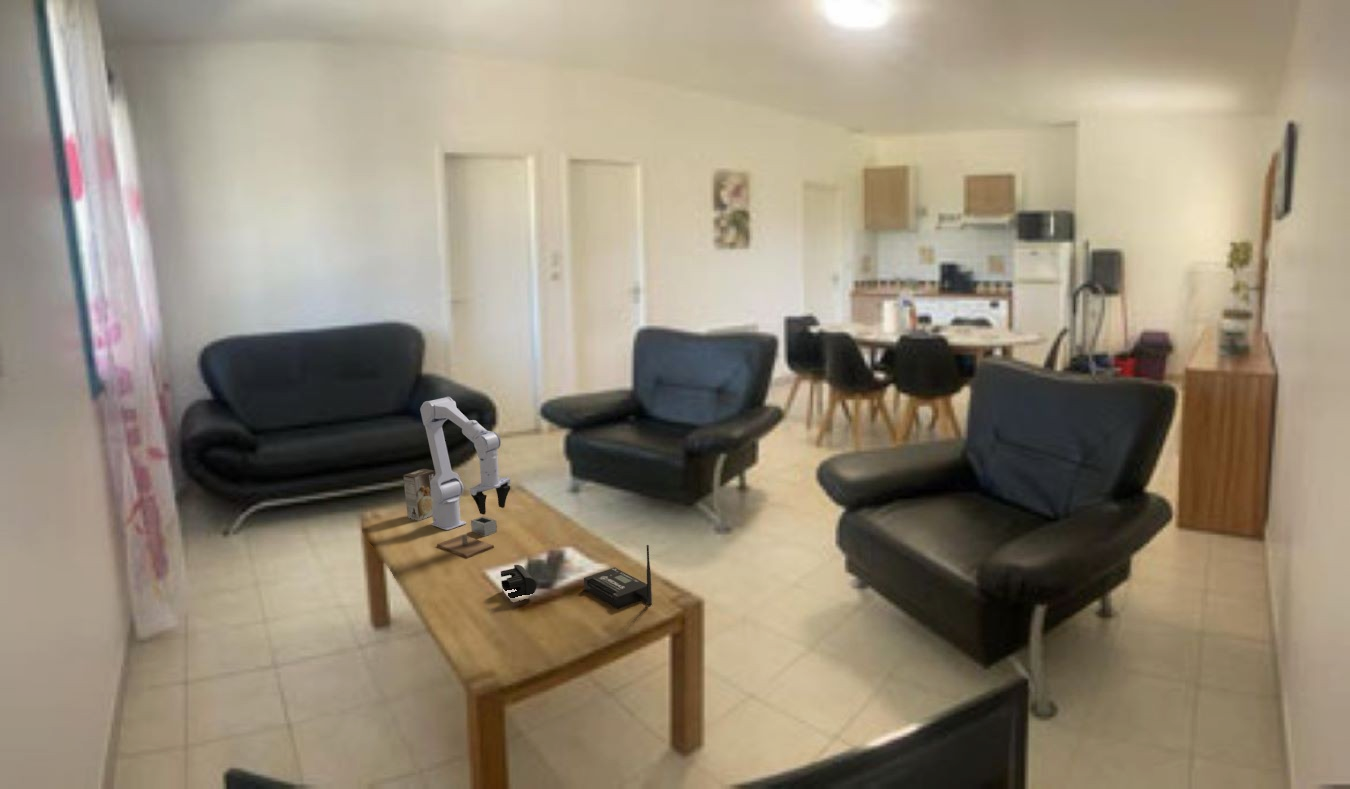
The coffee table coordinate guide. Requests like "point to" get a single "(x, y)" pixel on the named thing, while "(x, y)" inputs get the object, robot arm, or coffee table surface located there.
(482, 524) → the steel link
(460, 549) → the keeper board
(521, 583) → the end cap
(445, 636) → the coffee table surface
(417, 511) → the coffee box
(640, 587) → the wireless controller
